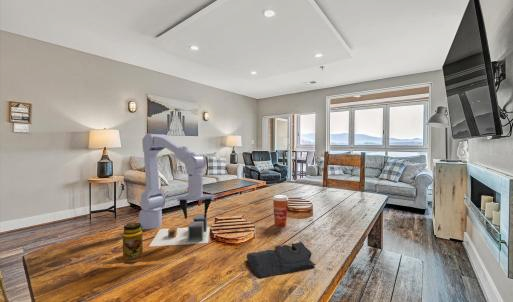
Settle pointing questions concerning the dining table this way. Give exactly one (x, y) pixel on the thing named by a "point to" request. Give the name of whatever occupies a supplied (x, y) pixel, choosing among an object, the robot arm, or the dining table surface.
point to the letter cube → (172, 232)
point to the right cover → (201, 218)
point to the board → (178, 238)
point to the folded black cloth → (280, 260)
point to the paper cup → (280, 210)
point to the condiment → (132, 242)
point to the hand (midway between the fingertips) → (195, 217)
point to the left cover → (196, 229)
